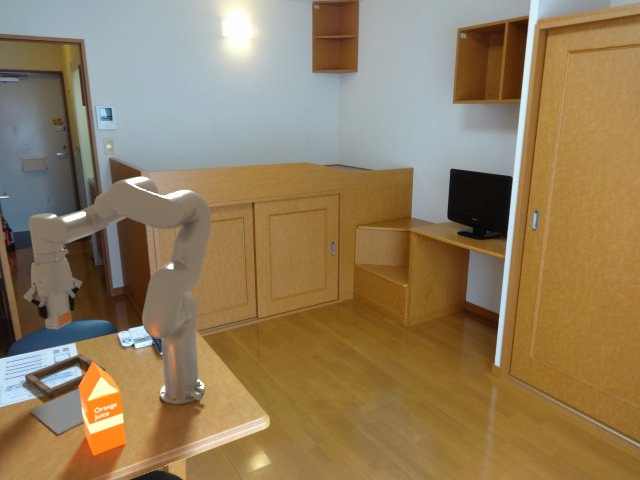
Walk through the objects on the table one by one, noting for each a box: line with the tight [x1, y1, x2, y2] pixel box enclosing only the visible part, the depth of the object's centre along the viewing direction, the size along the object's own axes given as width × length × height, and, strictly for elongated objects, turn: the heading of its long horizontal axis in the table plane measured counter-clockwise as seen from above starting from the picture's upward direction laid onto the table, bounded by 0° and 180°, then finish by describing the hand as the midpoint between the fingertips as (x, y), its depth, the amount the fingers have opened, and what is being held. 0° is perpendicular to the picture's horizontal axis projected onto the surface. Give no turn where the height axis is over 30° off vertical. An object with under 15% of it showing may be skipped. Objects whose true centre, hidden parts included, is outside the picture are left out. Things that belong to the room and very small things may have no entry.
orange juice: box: [77, 361, 127, 456], centre depth 117 cm, size 8×9×20 cm
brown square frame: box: [24, 353, 106, 399], centre depth 147 cm, size 15×17×2 cm
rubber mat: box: [29, 388, 84, 436], centre depth 131 cm, size 16×15×1 cm
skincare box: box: [44, 289, 72, 330], centre depth 141 cm, size 6×4×12 cm
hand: (57, 313), depth 141 cm, fingers closed on skincare box, 7 cm apart
